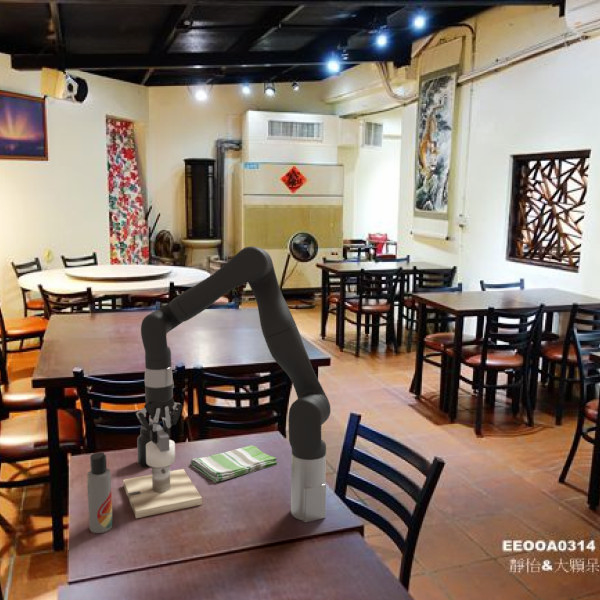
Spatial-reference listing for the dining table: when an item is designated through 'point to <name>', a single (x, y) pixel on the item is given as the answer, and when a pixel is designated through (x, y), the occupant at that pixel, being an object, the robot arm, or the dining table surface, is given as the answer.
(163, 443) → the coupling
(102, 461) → the lotion bottle
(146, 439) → the supplement bottle
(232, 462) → the dish towel
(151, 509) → the post board
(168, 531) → the dining table surface
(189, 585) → the dining table surface
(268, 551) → the dining table surface
